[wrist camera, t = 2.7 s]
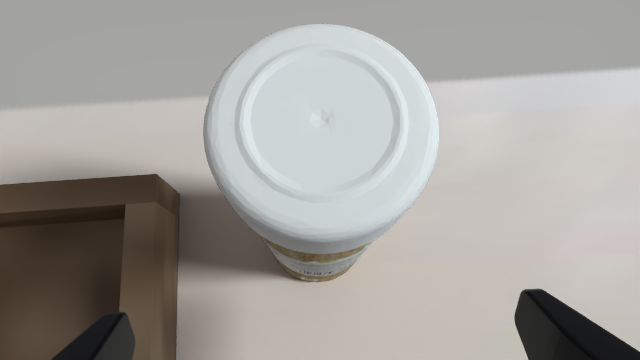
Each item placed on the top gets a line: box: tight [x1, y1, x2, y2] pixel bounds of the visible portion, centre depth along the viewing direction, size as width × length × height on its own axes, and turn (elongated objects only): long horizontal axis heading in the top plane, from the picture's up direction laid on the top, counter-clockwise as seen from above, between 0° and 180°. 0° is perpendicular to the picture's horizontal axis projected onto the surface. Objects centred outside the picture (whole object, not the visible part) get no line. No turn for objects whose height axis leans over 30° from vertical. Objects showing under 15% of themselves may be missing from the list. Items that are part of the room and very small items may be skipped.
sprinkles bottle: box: [203, 24, 439, 282], centre depth 14 cm, size 5×5×13 cm
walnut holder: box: [0, 174, 179, 360], centre depth 18 cm, size 10×10×3 cm
